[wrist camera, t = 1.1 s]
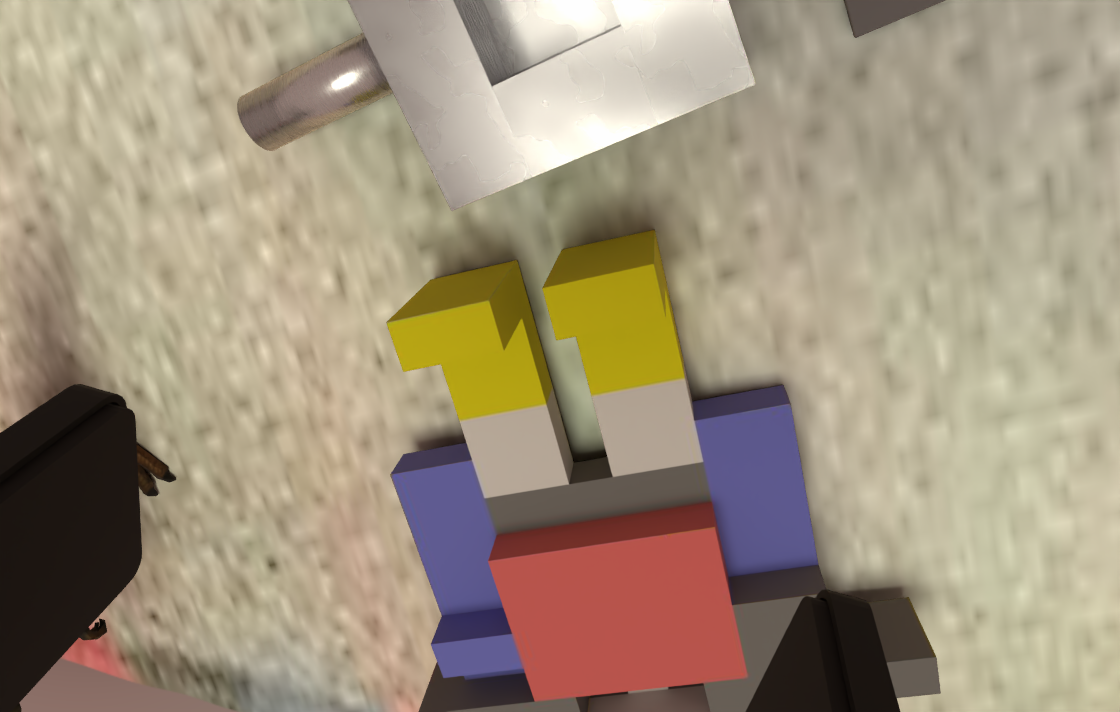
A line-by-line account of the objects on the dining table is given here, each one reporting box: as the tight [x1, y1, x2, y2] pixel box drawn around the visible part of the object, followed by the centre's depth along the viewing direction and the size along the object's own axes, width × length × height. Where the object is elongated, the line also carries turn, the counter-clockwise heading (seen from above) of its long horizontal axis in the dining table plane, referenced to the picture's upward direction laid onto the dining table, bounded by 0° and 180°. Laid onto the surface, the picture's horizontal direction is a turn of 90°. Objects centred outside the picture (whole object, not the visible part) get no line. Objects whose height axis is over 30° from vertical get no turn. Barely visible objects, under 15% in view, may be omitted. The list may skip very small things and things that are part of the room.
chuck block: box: [237, 0, 755, 211], centre depth 29 cm, size 19×12×5 cm, turn 114°
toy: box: [386, 230, 941, 712], centre depth 38 cm, size 26×9×30 cm
